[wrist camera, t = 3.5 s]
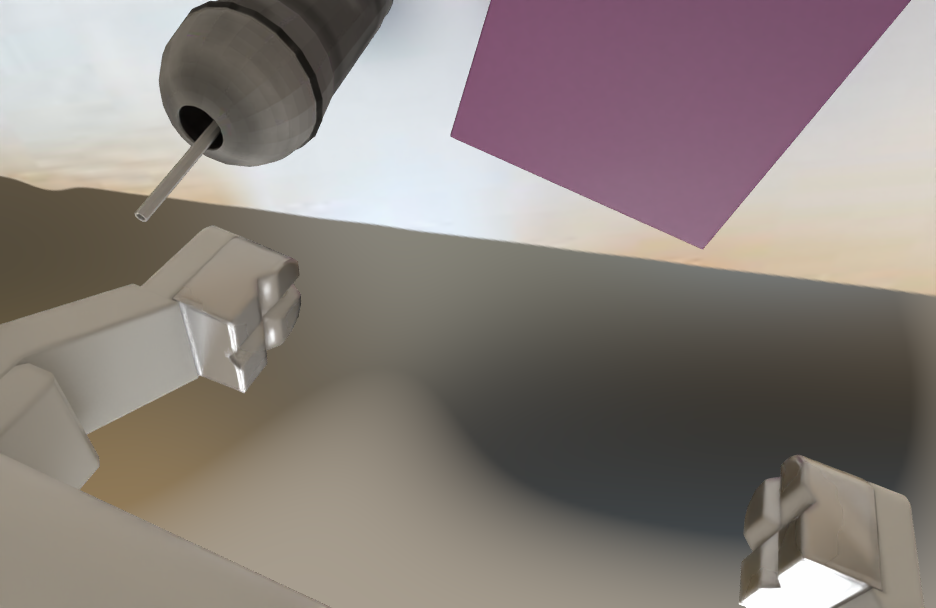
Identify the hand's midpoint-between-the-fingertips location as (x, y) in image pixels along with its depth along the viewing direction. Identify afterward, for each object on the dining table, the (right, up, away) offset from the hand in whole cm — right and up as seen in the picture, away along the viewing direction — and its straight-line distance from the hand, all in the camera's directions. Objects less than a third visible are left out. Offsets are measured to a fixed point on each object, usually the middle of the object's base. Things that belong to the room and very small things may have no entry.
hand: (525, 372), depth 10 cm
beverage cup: (-7, +20, +27) cm, 34 cm away
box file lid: (+7, +12, +15) cm, 21 cm away
